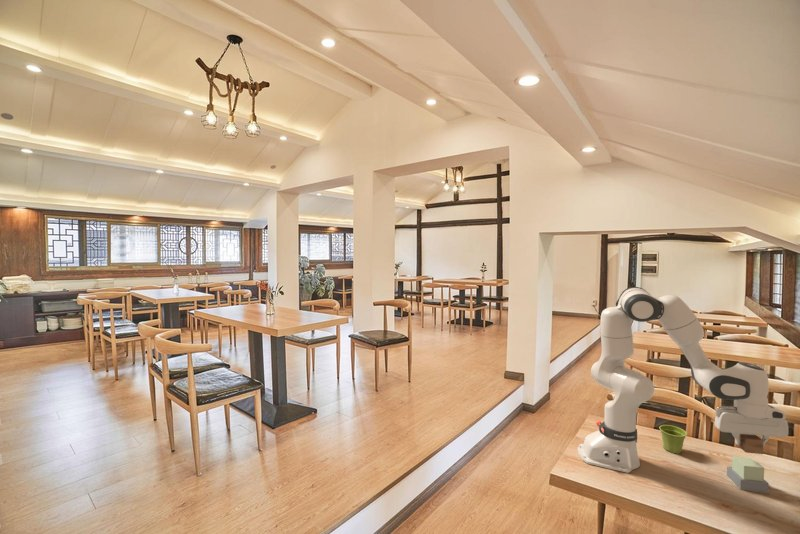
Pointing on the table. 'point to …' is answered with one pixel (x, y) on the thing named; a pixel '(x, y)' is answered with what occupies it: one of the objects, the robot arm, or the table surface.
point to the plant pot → (672, 438)
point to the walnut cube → (751, 443)
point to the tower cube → (748, 468)
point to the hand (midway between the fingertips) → (749, 445)
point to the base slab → (747, 482)
